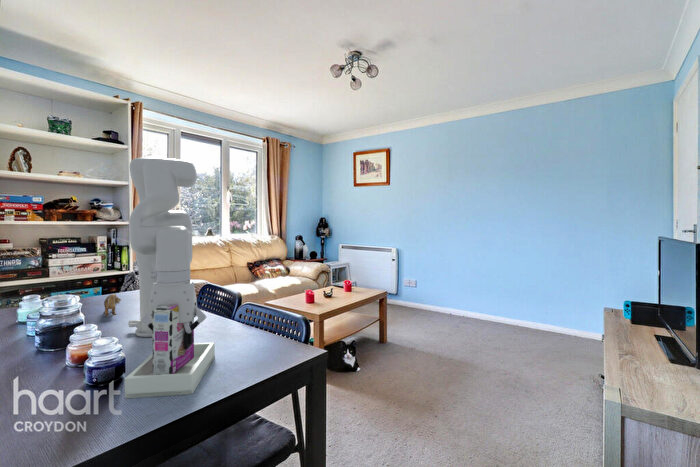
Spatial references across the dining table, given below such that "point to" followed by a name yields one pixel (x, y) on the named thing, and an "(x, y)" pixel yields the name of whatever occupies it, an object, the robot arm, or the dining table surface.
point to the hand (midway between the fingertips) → (175, 347)
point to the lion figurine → (111, 303)
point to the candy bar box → (169, 341)
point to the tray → (170, 376)
